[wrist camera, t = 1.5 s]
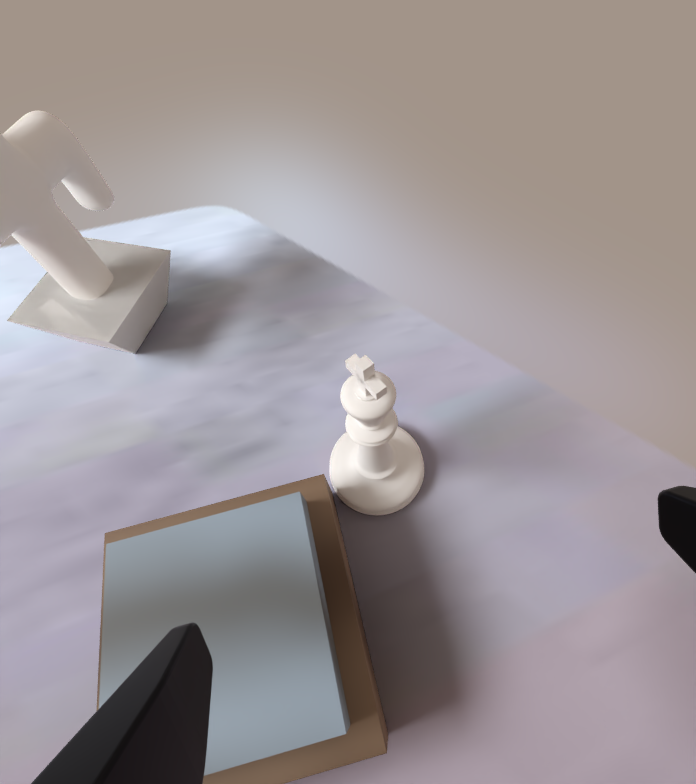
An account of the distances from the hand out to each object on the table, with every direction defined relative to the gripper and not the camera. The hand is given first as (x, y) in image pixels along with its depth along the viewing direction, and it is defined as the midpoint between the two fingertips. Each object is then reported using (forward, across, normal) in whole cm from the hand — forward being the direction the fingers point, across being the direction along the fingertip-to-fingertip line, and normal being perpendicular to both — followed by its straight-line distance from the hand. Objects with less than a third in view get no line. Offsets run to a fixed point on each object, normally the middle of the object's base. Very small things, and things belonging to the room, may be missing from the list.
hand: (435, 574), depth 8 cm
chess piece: (+14, 0, +4) cm, 14 cm away
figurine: (+24, +14, -6) cm, 28 cm away
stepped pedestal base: (+10, +7, +8) cm, 15 cm away
